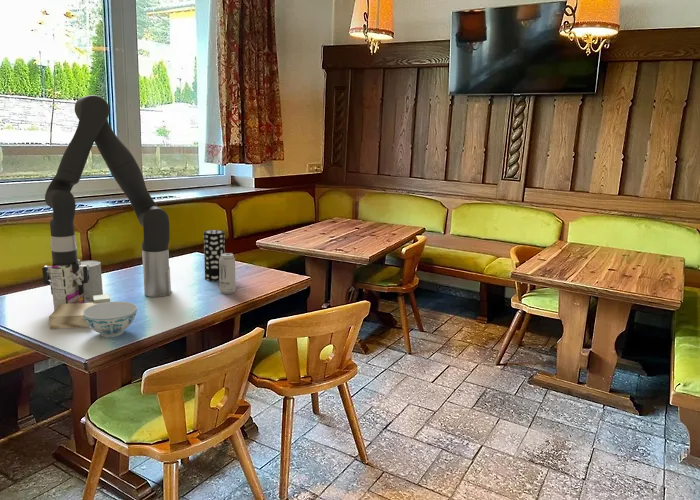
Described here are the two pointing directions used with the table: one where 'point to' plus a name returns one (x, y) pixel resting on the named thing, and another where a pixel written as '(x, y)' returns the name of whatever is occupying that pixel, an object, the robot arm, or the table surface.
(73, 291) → the candy bar box
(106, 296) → the brick
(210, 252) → the white-spotted black cylinder
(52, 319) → the pedestal
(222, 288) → the energy drink can
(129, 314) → the chinaware
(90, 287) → the speckled grey cylinder
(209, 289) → the table surface
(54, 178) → the robot arm
